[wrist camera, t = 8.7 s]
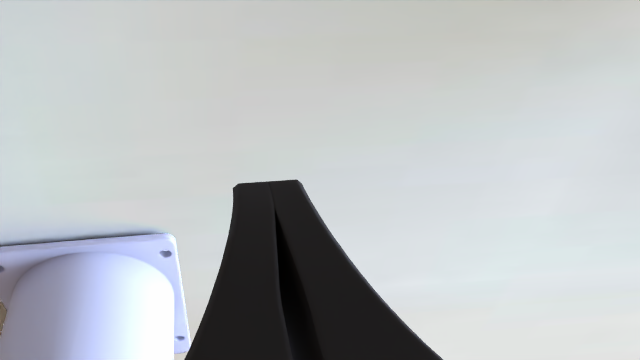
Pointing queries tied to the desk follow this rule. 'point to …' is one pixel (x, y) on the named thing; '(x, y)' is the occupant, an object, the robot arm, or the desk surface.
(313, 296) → the robot arm
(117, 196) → the desk surface
